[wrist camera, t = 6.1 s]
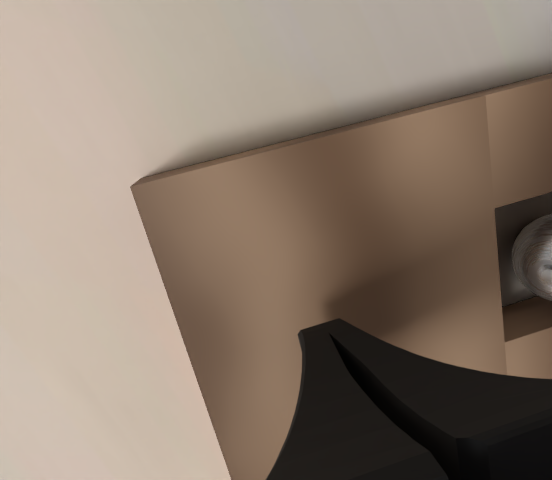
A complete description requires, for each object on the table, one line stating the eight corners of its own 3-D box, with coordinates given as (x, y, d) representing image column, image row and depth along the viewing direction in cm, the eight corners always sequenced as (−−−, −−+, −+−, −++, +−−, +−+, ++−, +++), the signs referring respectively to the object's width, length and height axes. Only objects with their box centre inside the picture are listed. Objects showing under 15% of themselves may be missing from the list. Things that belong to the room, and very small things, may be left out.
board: (262, 541, 17) (270, 592, 16) (140, 178, 13) (130, 186, 11) (627, 410, 19) (674, 440, 17) (637, 51, 15) (702, 39, 13)
